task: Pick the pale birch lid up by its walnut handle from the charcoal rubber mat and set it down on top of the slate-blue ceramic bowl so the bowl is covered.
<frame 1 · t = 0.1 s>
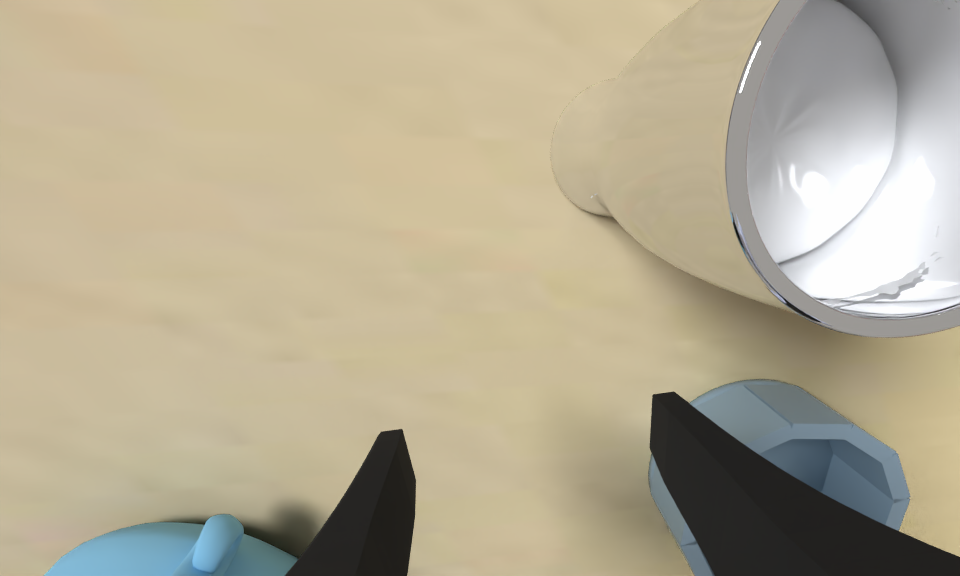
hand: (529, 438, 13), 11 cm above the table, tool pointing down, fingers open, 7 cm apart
bowl: (740, 462, 26), on the table
beer glass: (612, 150, 21), on the table
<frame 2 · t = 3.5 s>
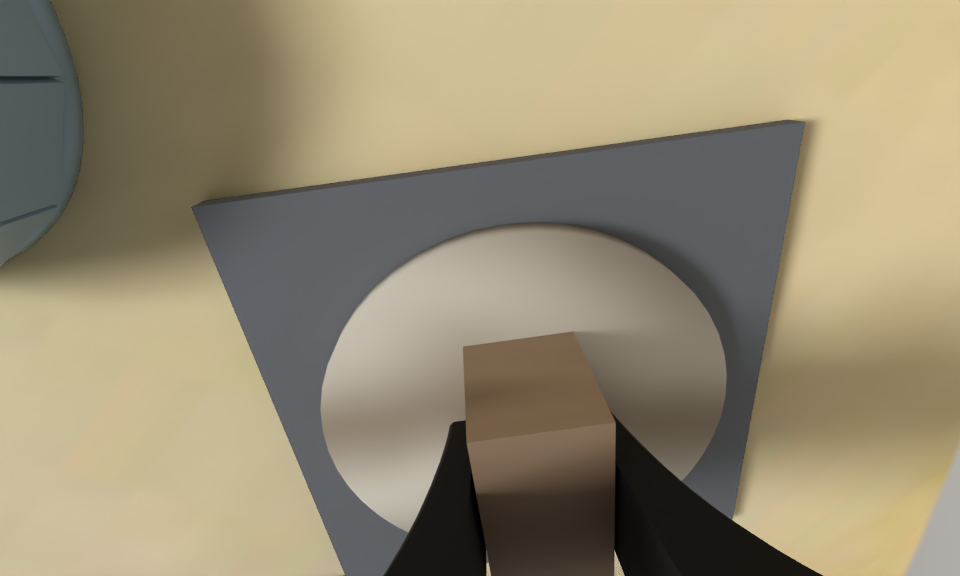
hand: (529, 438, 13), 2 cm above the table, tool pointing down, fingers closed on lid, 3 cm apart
mat: (520, 393, 15), on the table
lid: (522, 405, 14), point 1 cm above the table, touching gripper, mat
when the fingers open (7 cm above the table, at t = 6.8 s): lid stays where it is, resting on bowl.
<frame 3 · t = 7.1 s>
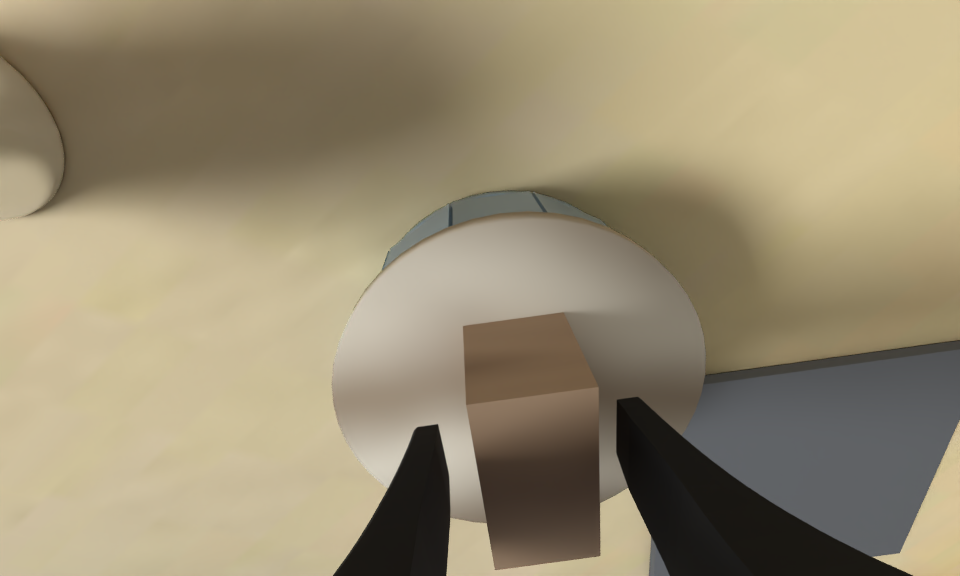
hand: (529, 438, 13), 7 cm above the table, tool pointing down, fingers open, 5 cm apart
bowl: (503, 316, 19), on the table, touching lid
mat: (791, 473, 24), on the table
lid: (518, 383, 15), point 4 cm above the table, touching bowl
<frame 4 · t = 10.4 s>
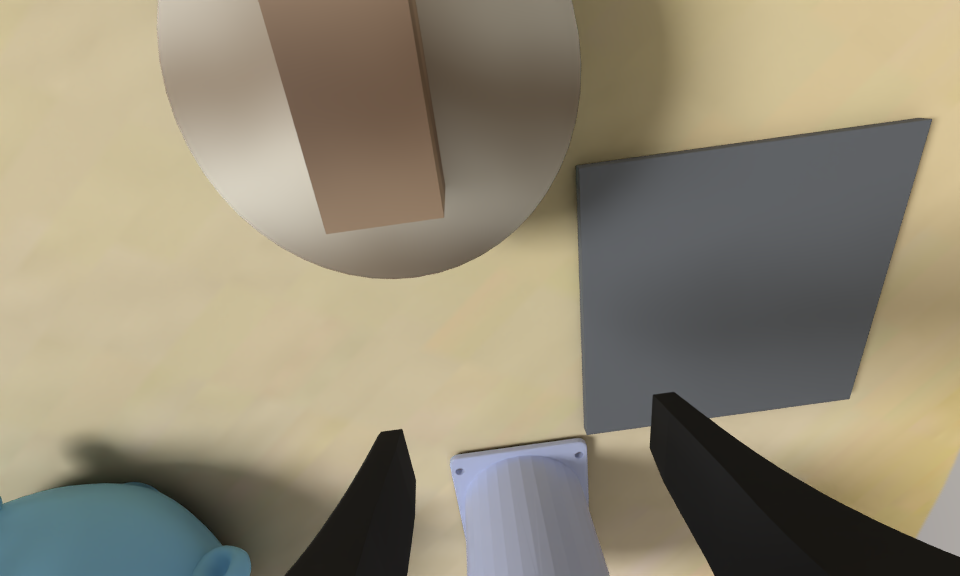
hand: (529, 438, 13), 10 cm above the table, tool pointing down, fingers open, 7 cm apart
mat: (727, 295, 23), on the table
decorative pot: (129, 541, 28), on the table
lid: (382, 91, 14), point 4 cm above the table, touching bowl
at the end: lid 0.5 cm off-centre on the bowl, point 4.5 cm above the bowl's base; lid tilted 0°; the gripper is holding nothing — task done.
